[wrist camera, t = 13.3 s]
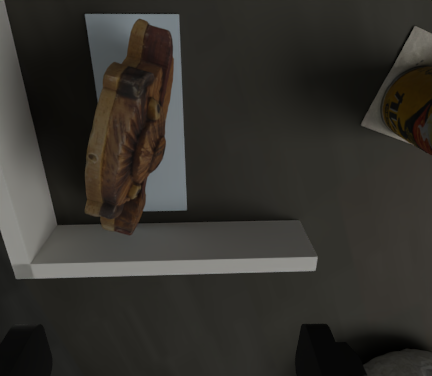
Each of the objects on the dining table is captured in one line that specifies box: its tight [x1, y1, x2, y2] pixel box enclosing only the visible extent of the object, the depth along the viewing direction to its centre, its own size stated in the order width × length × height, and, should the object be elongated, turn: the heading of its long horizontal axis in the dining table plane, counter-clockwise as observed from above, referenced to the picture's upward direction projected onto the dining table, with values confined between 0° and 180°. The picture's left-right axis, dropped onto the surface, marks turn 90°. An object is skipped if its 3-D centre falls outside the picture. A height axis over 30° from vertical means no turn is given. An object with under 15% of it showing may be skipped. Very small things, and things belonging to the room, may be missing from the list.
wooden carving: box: [85, 19, 174, 236], centre depth 25 cm, size 16×5×10 cm, turn 169°
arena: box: [0, 0, 318, 279], centre depth 25 cm, size 30×26×6 cm
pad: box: [85, 14, 187, 211], centre depth 30 cm, size 17×7×1 cm, turn 0°
